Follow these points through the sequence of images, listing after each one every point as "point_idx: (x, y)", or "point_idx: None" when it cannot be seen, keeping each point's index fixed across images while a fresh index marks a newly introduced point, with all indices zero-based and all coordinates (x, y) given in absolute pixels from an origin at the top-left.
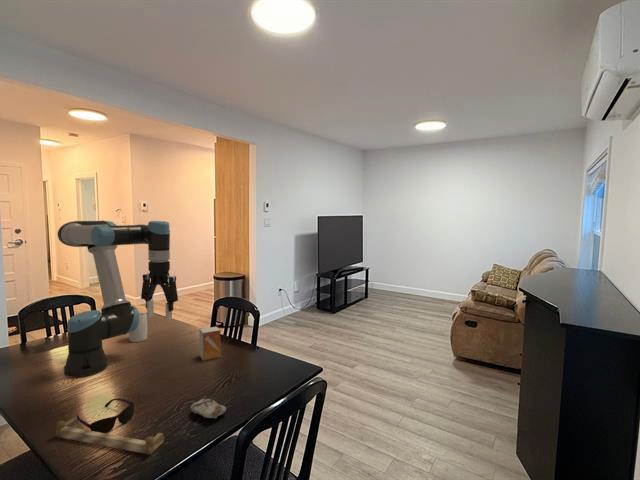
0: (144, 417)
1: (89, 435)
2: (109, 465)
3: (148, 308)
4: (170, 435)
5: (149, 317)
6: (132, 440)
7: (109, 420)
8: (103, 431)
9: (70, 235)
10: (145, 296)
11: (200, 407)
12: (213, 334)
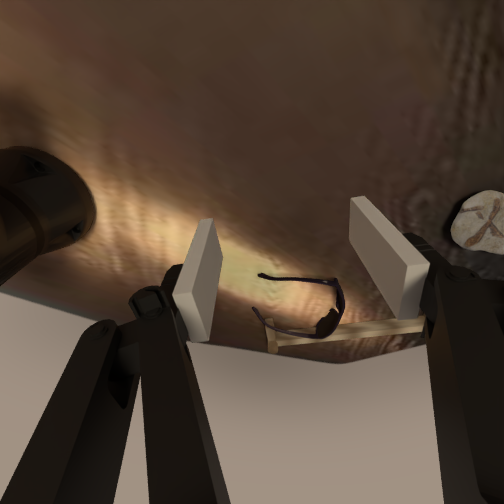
0: (358, 270)
1: (328, 340)
2: (388, 344)
3: (215, 298)
4: None
5: (221, 252)
6: (402, 330)
7: (335, 323)
8: (327, 318)
9: None
10: (136, 367)
11: (484, 242)
12: None
